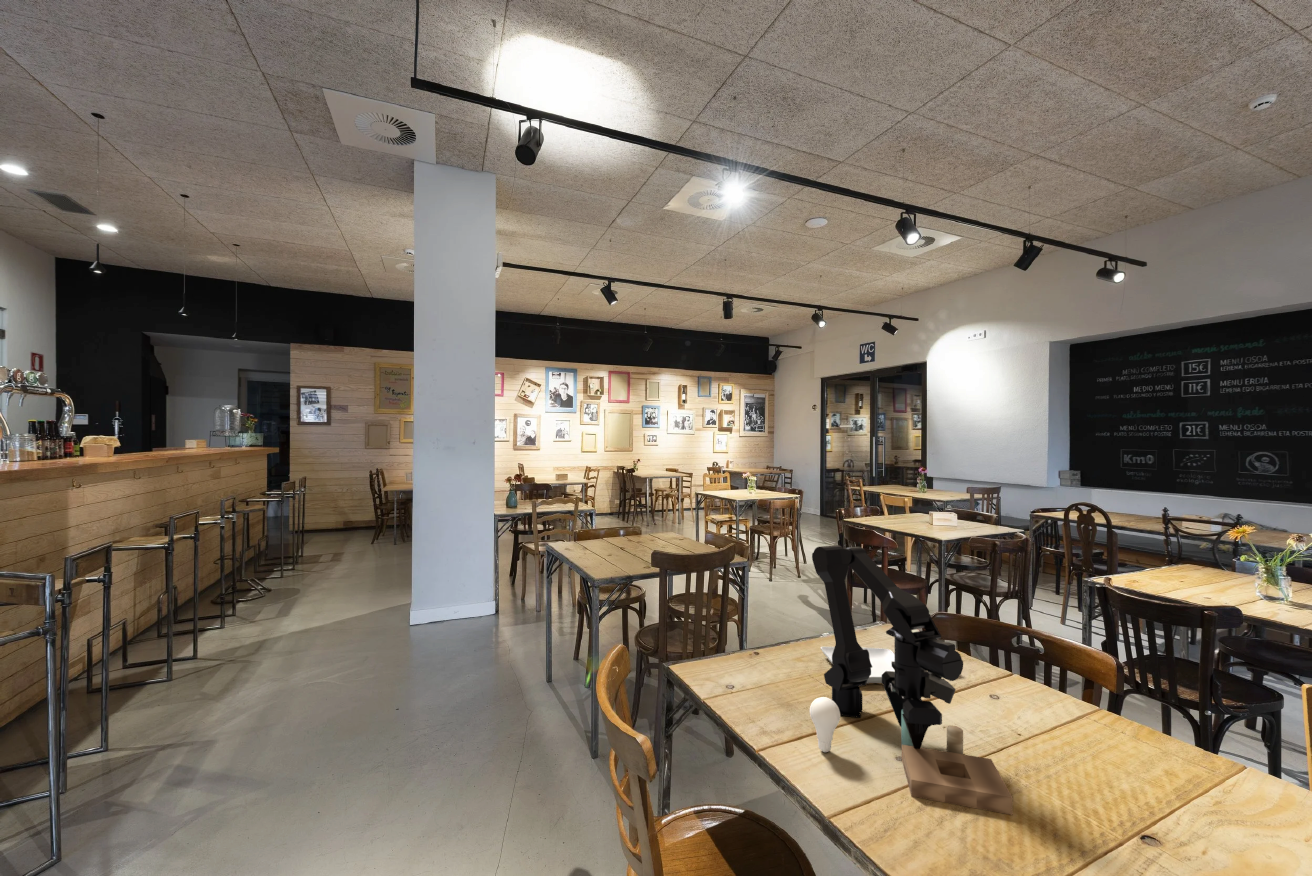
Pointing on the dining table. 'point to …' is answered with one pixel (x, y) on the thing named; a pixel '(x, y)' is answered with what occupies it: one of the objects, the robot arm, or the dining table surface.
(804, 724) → the dining table surface
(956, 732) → the short beech pin
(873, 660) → the salad plate
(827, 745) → the lightbulb
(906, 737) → the long teal pin
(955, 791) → the walnut hole block
